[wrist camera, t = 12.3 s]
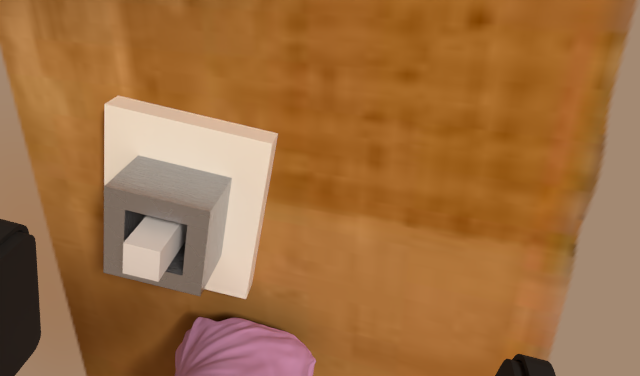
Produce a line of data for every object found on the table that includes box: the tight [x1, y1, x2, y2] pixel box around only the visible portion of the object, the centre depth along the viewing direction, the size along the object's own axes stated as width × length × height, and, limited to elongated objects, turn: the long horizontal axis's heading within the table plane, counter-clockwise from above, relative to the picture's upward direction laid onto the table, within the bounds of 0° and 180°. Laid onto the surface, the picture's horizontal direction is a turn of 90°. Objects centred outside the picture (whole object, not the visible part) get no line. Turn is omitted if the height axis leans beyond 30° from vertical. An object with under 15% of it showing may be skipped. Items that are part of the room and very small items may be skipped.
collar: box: [104, 155, 232, 296], centre depth 37 cm, size 7×7×5 cm
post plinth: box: [104, 96, 278, 299], centre depth 37 cm, size 14×12×9 cm
